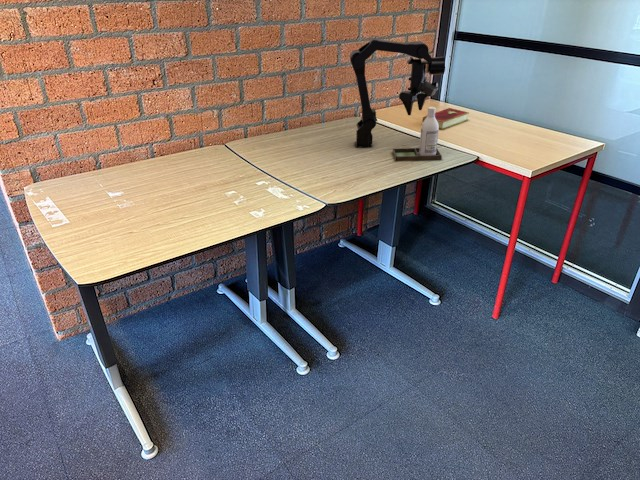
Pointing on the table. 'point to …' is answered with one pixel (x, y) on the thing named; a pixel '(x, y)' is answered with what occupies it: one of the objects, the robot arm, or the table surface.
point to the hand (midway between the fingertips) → (414, 112)
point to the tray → (413, 155)
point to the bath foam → (429, 134)
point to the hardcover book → (449, 117)
